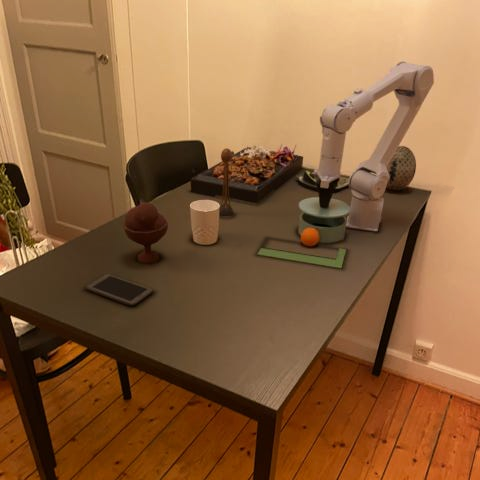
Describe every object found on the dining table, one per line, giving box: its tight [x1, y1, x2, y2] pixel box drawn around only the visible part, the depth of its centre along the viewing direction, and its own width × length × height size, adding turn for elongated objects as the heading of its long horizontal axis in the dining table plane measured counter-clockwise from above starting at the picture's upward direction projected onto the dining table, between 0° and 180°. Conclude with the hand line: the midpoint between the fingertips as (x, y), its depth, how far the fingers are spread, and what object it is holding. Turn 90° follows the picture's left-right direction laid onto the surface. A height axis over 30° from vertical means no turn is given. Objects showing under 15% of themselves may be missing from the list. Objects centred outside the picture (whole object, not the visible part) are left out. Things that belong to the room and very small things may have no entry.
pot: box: [297, 212, 347, 244], centre depth 134 cm, size 13×13×5 cm
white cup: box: [189, 199, 221, 246], centre depth 127 cm, size 8×8×10 cm
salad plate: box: [294, 170, 349, 193], centre depth 171 cm, size 19×18×5 cm
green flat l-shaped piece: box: [256, 246, 347, 270], centre depth 125 cm, size 22×11×1 cm, turn 73°
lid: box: [298, 196, 350, 218], centre depth 130 cm, size 14×14×5 cm
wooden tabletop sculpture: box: [219, 147, 235, 217], centre depth 140 cm, size 6×5×20 cm
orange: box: [300, 228, 319, 247], centre depth 127 cm, size 5×5×5 cm
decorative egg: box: [386, 145, 417, 192], centre depth 164 cm, size 12×12×15 cm
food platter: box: [190, 143, 304, 204], centre depth 170 cm, size 45×25×10 cm, turn 155°
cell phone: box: [85, 273, 153, 307], centre depth 107 cm, size 7×14×1 cm, turn 61°
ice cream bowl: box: [122, 201, 169, 264], centre depth 116 cm, size 11×11×15 cm
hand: (324, 205), depth 131 cm, fingers closed on lid, 2 cm apart
